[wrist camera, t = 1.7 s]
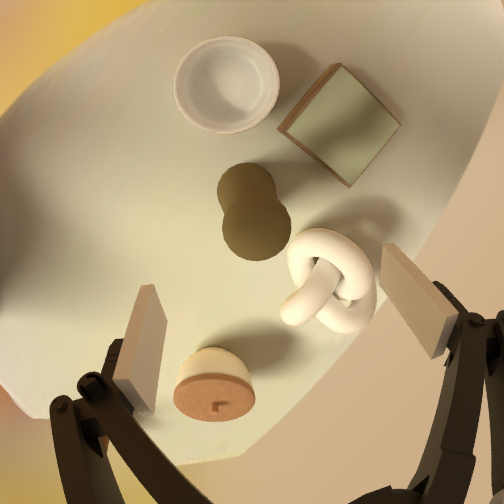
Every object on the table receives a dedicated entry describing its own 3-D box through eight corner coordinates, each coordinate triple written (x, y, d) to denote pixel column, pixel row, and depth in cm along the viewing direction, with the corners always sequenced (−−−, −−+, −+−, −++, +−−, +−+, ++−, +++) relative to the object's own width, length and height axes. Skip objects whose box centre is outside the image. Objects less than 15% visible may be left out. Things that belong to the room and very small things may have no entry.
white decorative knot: (259, 225, 33) (273, 268, 25) (361, 204, 33) (400, 238, 25) (275, 305, 39) (289, 356, 31) (362, 283, 39) (391, 327, 31)
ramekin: (227, 147, 29) (229, 155, 25) (161, 92, 25) (151, 90, 22) (290, 85, 26) (301, 83, 23) (224, 27, 23) (224, 16, 19)
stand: (276, 129, 28) (282, 132, 26) (330, 65, 25) (341, 62, 23) (340, 181, 32) (350, 189, 29) (388, 121, 29) (403, 125, 26)
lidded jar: (240, 328, 40) (247, 383, 32) (255, 375, 45) (263, 424, 37) (166, 342, 40) (158, 396, 32) (191, 386, 45) (189, 435, 37)
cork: (263, 224, 33) (282, 281, 23) (209, 209, 32) (206, 262, 22) (283, 173, 31) (314, 211, 21) (227, 155, 29) (232, 184, 19)
